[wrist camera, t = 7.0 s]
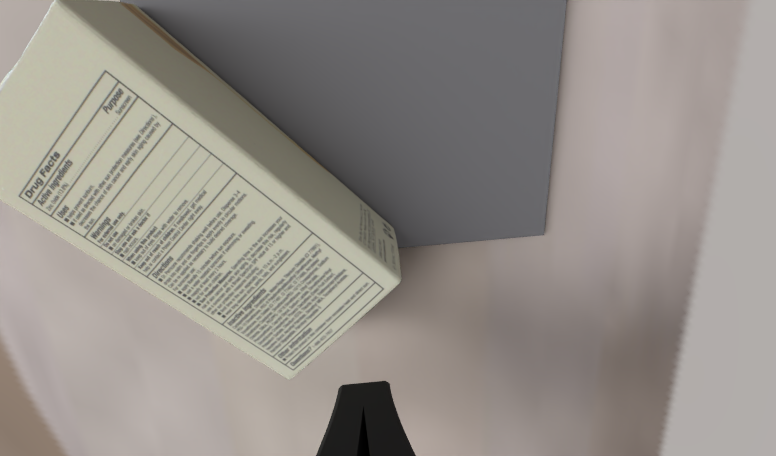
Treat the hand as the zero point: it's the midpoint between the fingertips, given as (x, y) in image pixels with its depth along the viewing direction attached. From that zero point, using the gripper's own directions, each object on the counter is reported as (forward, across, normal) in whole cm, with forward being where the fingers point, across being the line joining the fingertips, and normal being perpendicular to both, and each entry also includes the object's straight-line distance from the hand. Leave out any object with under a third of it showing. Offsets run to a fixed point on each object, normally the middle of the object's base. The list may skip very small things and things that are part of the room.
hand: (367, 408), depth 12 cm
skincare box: (+5, +1, 0) cm, 5 cm away
